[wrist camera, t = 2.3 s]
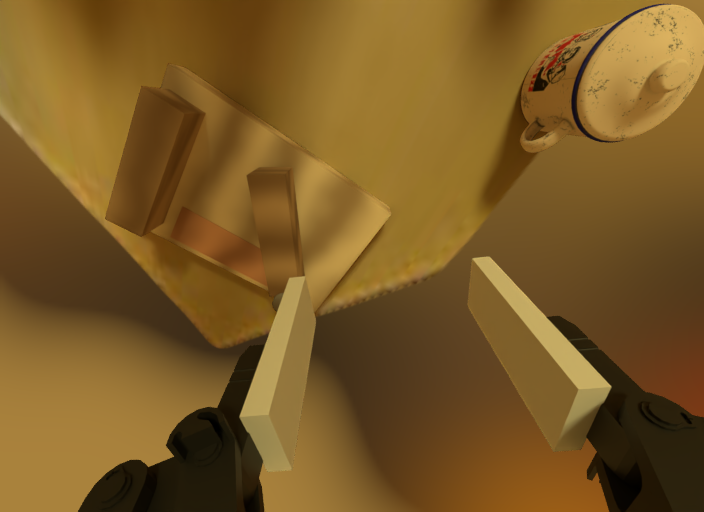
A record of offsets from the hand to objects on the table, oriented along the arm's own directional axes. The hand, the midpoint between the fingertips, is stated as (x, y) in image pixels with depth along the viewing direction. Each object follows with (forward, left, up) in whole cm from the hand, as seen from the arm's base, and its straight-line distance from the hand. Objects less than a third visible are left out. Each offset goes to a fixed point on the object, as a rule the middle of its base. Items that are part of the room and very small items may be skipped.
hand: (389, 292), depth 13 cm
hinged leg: (-5, -10, -20) cm, 23 cm away
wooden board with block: (-9, -10, -23) cm, 27 cm away
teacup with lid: (+11, +18, -23) cm, 32 cm away
